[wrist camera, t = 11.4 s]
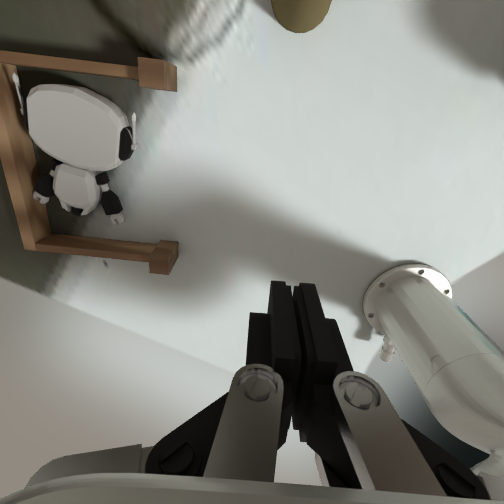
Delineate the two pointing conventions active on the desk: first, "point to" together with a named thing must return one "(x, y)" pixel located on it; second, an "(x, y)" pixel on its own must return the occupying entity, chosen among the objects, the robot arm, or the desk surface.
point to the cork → (300, 13)
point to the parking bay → (26, 170)
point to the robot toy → (78, 145)
